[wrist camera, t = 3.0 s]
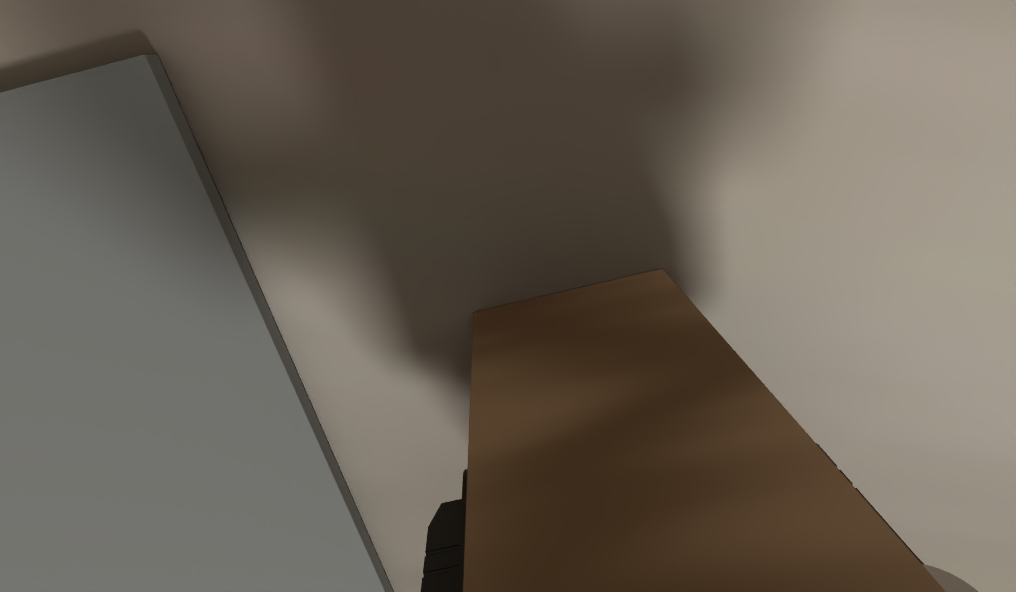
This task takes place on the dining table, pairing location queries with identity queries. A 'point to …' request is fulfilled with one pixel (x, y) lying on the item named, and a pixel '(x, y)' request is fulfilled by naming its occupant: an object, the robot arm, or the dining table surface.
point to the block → (650, 460)
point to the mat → (148, 367)
